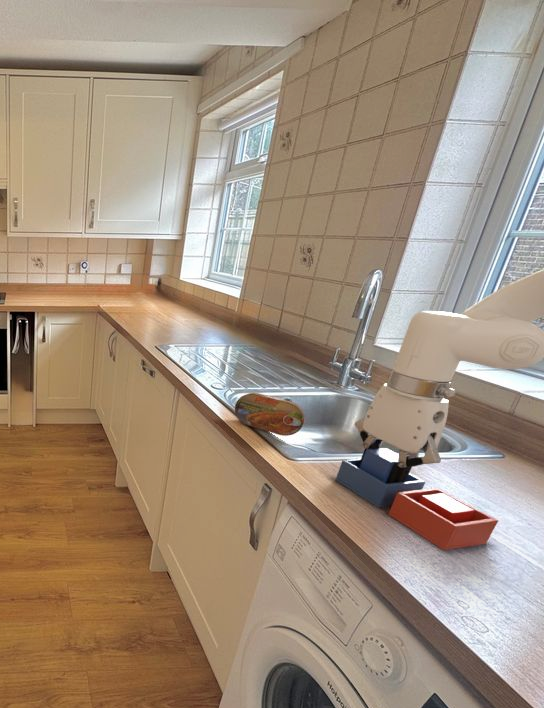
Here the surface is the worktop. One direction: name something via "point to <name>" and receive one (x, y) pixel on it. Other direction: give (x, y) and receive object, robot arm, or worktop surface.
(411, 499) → the red bin
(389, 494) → the blue bin
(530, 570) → the worktop surface
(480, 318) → the robot arm
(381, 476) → the blue block
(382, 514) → the worktop surface
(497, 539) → the worktop surface
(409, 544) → the worktop surface
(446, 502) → the red block
